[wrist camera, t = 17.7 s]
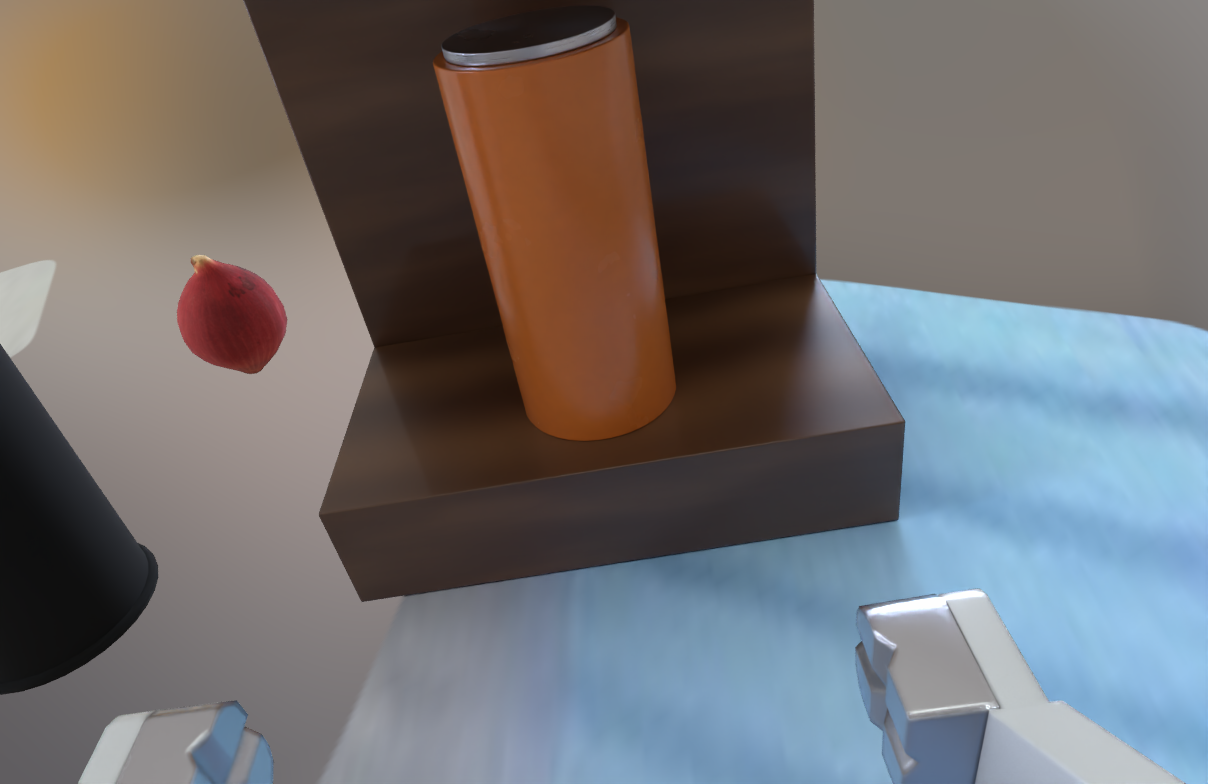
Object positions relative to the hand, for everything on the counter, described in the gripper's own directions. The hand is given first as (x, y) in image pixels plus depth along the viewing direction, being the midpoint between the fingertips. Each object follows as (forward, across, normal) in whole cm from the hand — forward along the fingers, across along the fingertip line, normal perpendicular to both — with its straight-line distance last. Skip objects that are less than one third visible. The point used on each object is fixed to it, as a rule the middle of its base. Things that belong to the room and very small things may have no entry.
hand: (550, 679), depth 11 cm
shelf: (+22, 0, +15) cm, 27 cm away
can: (+21, 0, +10) cm, 24 cm away
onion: (+37, +22, +16) cm, 45 cm away
